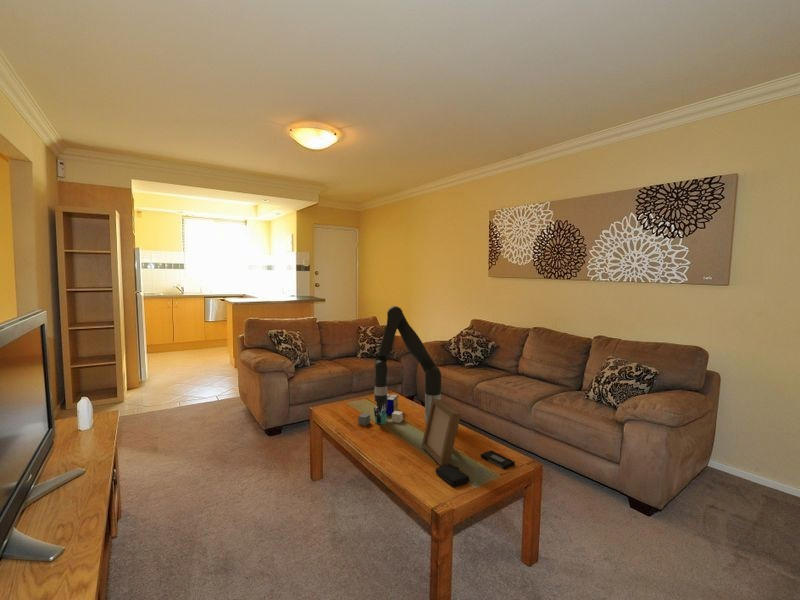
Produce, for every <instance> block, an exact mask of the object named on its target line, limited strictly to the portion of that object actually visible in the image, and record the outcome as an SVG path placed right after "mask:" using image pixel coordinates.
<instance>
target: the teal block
mask: <svg viewBox="0 0 800 600" xmlns="http://www.w3.org/2000/svg"><path fill="white" fill-rule="evenodd" d="M379 414H380V413H379ZM387 416H388V415H387V413H381V423H377V417H375V416H374V419H375V421H374V422H375V424H379V425H384V424H385V423H386V422H387Z"/></svg>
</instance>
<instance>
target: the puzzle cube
mask: <svg viewBox="0 0 800 600" xmlns="http://www.w3.org/2000/svg"><path fill="white" fill-rule="evenodd" d="M387 401H388V404H387V411H386V413H387V416H392V413H393V412H394V411H399V395H398V394H389V393H387ZM385 408H386V407H385Z"/></svg>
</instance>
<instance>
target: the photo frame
mask: <svg viewBox="0 0 800 600" xmlns="http://www.w3.org/2000/svg"><path fill="white" fill-rule="evenodd" d="M461 415H462V414H461V413H460V412H459V411H457V410H456V409H454V408H453V407H451V406H450V405H449V404H447V403H445V402H444V401H443V400H438V399H432V403H431V407H430V412H429V416H428V420H427V423H426V425H425V430H424V434H423V439H422V443H421V447H422V448H423V450H425V451H426V452H427V454H429V455H430V456H431V457H432V459H434V460H435V462H437V464H439V467H441V466H445V465H448V464H451V459H452V455H453V451H454V446H455V443H456V439H457V438H456V437H457V434H458V433H457V432H458V430H459V429H458V428H459V424H460V420H461Z"/></svg>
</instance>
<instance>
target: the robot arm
mask: <svg viewBox="0 0 800 600" xmlns="http://www.w3.org/2000/svg"><path fill="white" fill-rule="evenodd" d="M386 313H387V314H386V316H387V318H386V326H385V330H384V333H383V336H382V339H381V343H380V346H379V348H378V353H377V356H376V358H375V361H374V365H373V366H374V368H375V370H374V371H375V378H374V402H375V403H376V404H375V405H376V406H374V407H373V412H374V418H375V417H377V423H376V424H378V423H381V413H386V411H387V404H388V401H387V394H388V380H387V375H388V365H387V362H388V358H389V357H390V356H391V353H392V348H393V345H394V342H395V337H396V333H397V331H398V333H399V335H400V337H401V339H402V341H403V343H404V345H405V346H406V348H407V349H408V352H409V353H410V354H411V356H412V357H414V359H415V360H416V361H417V362H418V363H419V364H420V366H421V368H422V370H423V372H424V375H425V376H424V379H425V381H424V382H425V383H424V384H425V385H424V422H425V423H426V424H427V420H428V416H429V412H430V407H431V403H432V399H438V400H441V398H442V397H441V396H442V395H441V393H442V372H441V370H440V368H439V367H438V365H437V364H436V363H435V362H434V361H433V359H432V358H431V356H430V355H429V352H428V351H427V349H426V347H425V345H424V343H423V342H422V340H421V338H420V336H419V335H418V334H417V333H416V331H415V330H414V328H413V327H412V326H411V325H410V323H409V322H408V320H407V319H406V316H405V314H404V312H403V310H402V308H401V307H399V306H396V305H394V306H391V307H390V308H388V309H387V311H386ZM441 401H442V400H441ZM385 407H386V408H385ZM379 413H380V414H379Z"/></svg>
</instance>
